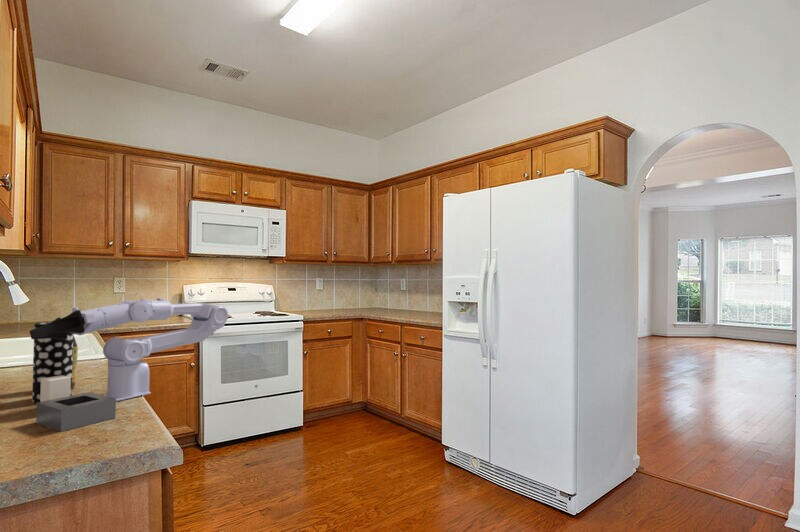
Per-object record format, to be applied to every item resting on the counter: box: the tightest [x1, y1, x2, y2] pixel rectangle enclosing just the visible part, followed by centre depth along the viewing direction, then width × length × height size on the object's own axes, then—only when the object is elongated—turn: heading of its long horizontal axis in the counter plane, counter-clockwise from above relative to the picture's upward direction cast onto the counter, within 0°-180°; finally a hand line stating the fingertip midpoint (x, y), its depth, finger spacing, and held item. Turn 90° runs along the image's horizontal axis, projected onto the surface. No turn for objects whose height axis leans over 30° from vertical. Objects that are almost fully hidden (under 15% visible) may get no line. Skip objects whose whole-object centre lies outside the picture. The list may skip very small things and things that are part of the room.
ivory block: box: [40, 375, 71, 402], centre depth 111 cm, size 4×4×8 cm
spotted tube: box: [31, 321, 74, 404], centre depth 122 cm, size 8×8×20 cm
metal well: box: [35, 391, 117, 433], centre depth 104 cm, size 11×11×4 cm
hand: (37, 332), depth 108 cm, fingers open, 7 cm apart
